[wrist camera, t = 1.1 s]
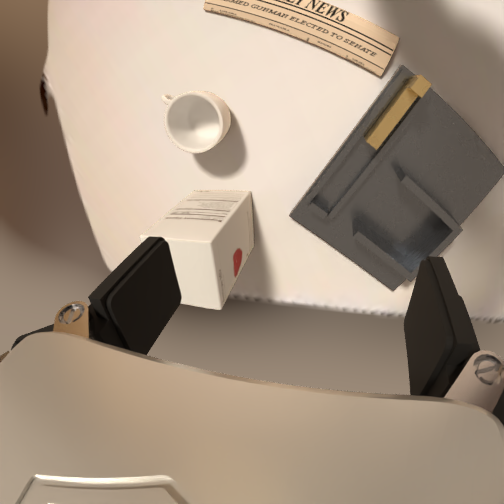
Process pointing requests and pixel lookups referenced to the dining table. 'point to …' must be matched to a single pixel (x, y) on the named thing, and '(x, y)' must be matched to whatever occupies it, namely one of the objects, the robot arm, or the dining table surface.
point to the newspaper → (318, 27)
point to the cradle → (400, 187)
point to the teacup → (196, 120)
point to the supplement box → (208, 243)
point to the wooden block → (397, 109)
